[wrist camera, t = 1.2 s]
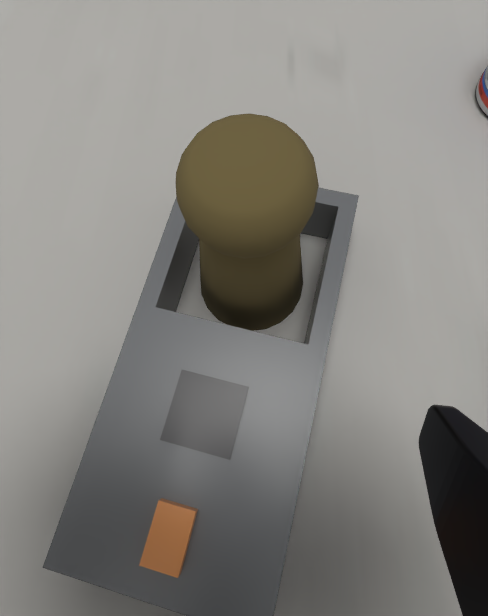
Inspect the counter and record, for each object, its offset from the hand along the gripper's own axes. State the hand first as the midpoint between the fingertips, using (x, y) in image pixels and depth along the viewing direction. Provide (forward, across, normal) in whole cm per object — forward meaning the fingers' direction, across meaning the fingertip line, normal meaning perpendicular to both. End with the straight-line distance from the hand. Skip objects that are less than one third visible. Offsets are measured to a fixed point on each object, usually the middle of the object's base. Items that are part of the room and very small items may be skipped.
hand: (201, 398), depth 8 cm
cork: (+16, 0, +4) cm, 16 cm away
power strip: (+12, +1, +8) cm, 14 cm away
